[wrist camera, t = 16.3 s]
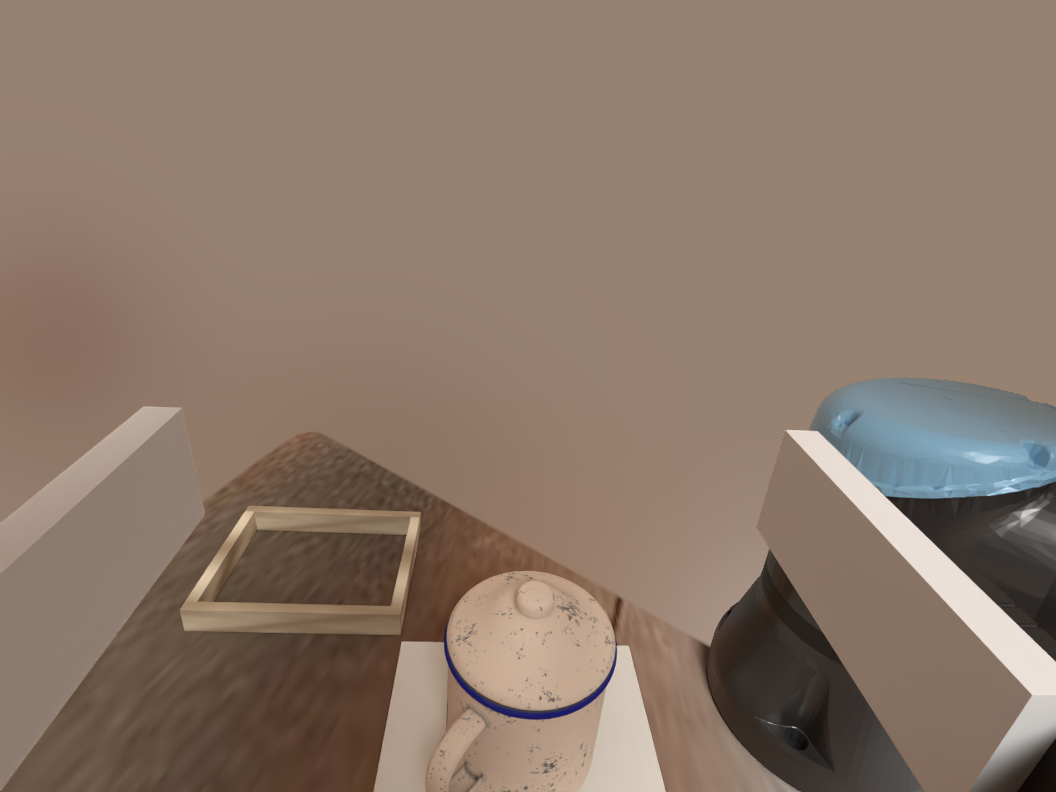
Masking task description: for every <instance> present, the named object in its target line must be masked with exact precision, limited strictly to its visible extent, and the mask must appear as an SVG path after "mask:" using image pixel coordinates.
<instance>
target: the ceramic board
mask: <svg viewBox="0 0 1056 792" xmlns="http://www.w3.org/2000/svg"><path fill="white" fill-rule="evenodd" d="M447 684H448V663H447V661H446V656H445V651H444V642H404V641H402V643H401V649H400V654H399V659H398V665H397V670H396V675H395V681H394V686H393V691H392V696H391V702H390V707H389V712H388V718H387V723H386V728H385V734H384V739H383V744H382V750H381V755H380V760H379V766H378V771H377V776H376V782H375V787H374V792H426V788H425V776H426V771H427V767H428V764H429V761H430V759H431V757H432V755H433V753H434V751H435V749H436V747H437V745H438V744H439V742H440V740H441V739H442V737H443V736H444V735H445V733H446V722H447ZM453 775H454V774H453ZM577 792H666V791H665V787H664V783H663V779H662V775H661V772H660V768H659V764H658V760H657V756H656V752H655V748H654V744H653V740H652V736H651V732H650V728H649V724H648V720H647V716H646V712H645V708H644V705H643V701H642V697H641V693H640V689H639V685H638V681H637V677H636V673H635V669H634V665H633V661H632V657H631V653H630V649H629V646H617V660H616V666H615V669H614V673H613V675H612V677H611V680H610V682H609V683H608V685H607V687H606V692H605V697H604V702H603V707H602V712H601V717H600V722H599V727H598V732H597V737H596V742H595V747H594V752H593V757H592V762H591V766H590V769H589V772H588V774H587V777H586V779H585V780H584V782H583V784H582V785H581V787H580V788H579V790H578V791H577Z"/></svg>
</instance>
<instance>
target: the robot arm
mask: <svg viewBox="0 0 1056 792" xmlns="http://www.w3.org/2000/svg"><path fill="white" fill-rule="evenodd" d="M204 515H205V511H204V506H203V502H202V497H201V492H200V488H199V483H198V479H197V474H196V469H195V465H194V460H193V455H192V451H191V446H190V442H189V437H188V433H187V428H186V423H185V419H184V414H183V409H182V408H174V407H147V406H144V407H143V408H141V409H140V410H139V411H138V412H136V413H135V414H134V415H133V416H131V417H130V418H129V419H128V420H127V421H125V422H124V423H123V424H122V425H120V426H119V427H118V428H117V429H116V430H114V431H113V432H112V433H111V434H109V435H108V436H107V437H106V438H104V439H103V440H102V441H101V442H100V443H98V444H97V445H96V446H95V447H93V448H92V449H91V450H90V451H88V452H87V453H86V454H85V455H83V456H82V457H81V458H80V459H79V460H77V461H76V462H75V463H74V464H72V465H71V466H70V467H69V468H67V469H66V470H65V471H64V472H63V473H61V474H60V475H59V476H58V477H56V478H55V479H54V480H53V481H51V482H50V483H49V484H48V485H46V486H45V487H44V488H43V489H42V490H40V491H39V492H38V493H37V494H35V495H34V496H33V497H32V498H30V499H29V500H28V501H27V502H25V503H24V504H23V505H22V506H21V507H19V508H18V509H17V510H16V511H14V512H13V513H12V514H11V515H9V516H8V517H7V518H6V519H5V520H3V521H2V522H1V523H0V791H1V790H2V789H3V787H4V786H5V785H6V783H7V782H8V781H9V779H10V778H11V777H12V775H13V774H14V772H15V771H16V770H17V768H18V767H19V766H20V764H21V763H22V762H23V760H24V759H25V758H26V756H27V755H28V754H29V752H30V751H31V749H32V748H33V747H34V745H35V744H36V743H37V741H38V740H39V739H40V737H41V736H42V735H43V733H44V732H45V731H46V729H47V728H48V726H49V725H50V724H51V722H52V721H53V720H54V718H55V717H56V716H57V714H58V713H59V712H60V710H61V709H62V708H63V706H64V705H65V703H66V702H67V701H68V699H69V698H70V697H71V695H72V694H73V693H74V691H75V690H76V689H77V687H78V686H79V685H80V683H81V682H82V680H83V679H84V678H85V676H86V675H87V674H88V672H89V671H90V670H91V668H92V667H93V666H94V664H95V663H96V662H97V660H98V659H99V657H100V656H101V655H102V653H103V652H104V651H105V649H106V648H107V647H108V645H109V644H110V643H111V641H112V640H113V639H114V637H115V636H116V634H117V633H118V632H119V630H120V629H121V628H122V626H123V625H124V624H125V622H126V621H127V620H128V618H129V617H130V616H131V614H132V613H133V611H134V610H135V609H136V607H137V606H138V605H139V603H140V602H141V601H142V599H143V598H144V597H145V595H146V594H147V593H148V591H149V590H150V588H151V587H152V586H153V584H154V583H155V582H156V580H157V579H158V578H159V576H160V575H161V574H162V572H163V571H164V570H165V568H166V567H167V565H168V564H169V563H170V561H171V560H172V559H173V557H174V556H175V555H176V553H177V552H178V551H179V549H180V548H181V547H182V545H183V544H184V542H185V541H186V540H187V538H188V537H189V536H190V534H191V533H192V532H193V530H194V529H195V528H196V526H197V525H198V524H199V522H200V521H201V519H202V518H203V517H204ZM756 528H757V530H758V531H759V533H760V534H761V536H762V538H763V539H764V541H765V542H766V544H767V545H768V547H769V552H768V555H767V558H766V561H765V565H764V568H763V571H762V573H761V575H760V577H759V578H758V579H757V580H756V581H755V582H754V584H753V585H752V586H751V588H750V589H749V590H748V591H747V592H746V594H745V595H744V596H743V597H742V599H741V600H740V601H739V602H738V603H736V604H735V605H734V606H732V607H731V608H730V609H729V610H728V611H727V612H726V613H725V615H724V616H723V617H722V619H721V620H720V622H719V624H718V626H717V628H716V630H715V633H714V637H713V640H712V643H711V646H710V650H709V654H708V659H707V675H708V681H709V685H710V689H711V692H712V695H713V698H714V700H715V703H716V705H717V707H718V709H719V711H720V713H721V715H722V716H723V718H724V720H725V721H726V723H727V724H728V726H729V727H730V729H731V730H732V731H733V733H734V734H735V735H736V737H737V738H738V739H739V740H740V742H741V743H742V744H743V745H744V746H745V747H746V748H747V749H748V750H749V752H751V753H752V754H753V755H754V756H755V757H756V758H757V759H758V760H759V761H760V762H761V763H762V764H763V765H764V766H766V767H767V768H768V769H769V770H771V771H772V772H773V773H774V774H776V775H777V776H778V777H780V778H781V779H782V780H784V781H785V782H787V783H788V784H790V785H791V786H793V787H795V788H796V789H798V790H800V791H801V792H1056V407H1054V406H1052V405H1049V404H1046V403H1039V402H1033V401H1029V400H1028V398H1027V397H1025V396H1022V395H1019V394H1015V393H1012V392H1008V391H1004V390H1000V389H995V388H990V387H985V386H981V385H975V384H969V383H962V382H955V381H946V380H937V379H925V378H885V379H882V378H881V379H872V380H865V381H860V382H856V383H852V384H849V385H846V386H844V387H841V388H840V389H838V390H836V391H834V392H833V393H831V394H830V395H829V396H827V397H826V398H825V399H824V401H823V402H822V403H821V404H820V406H819V408H818V409H817V411H816V414H815V416H814V419H813V421H812V424H811V426H810V429H809V431H800V430H799V431H798V430H785V432H784V436H783V439H782V442H781V446H780V449H779V452H778V456H777V459H776V462H775V466H774V469H773V472H772V476H771V479H770V482H769V486H768V489H767V492H766V496H765V499H764V502H763V506H762V509H761V512H760V516H759V519H758V522H757V526H756Z"/></svg>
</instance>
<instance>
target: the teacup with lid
mask: <svg viewBox="0 0 1056 792" xmlns="http://www.w3.org/2000/svg"><path fill="white" fill-rule="evenodd" d="M444 651H445V656H446V661H447V663H448V684H447V722H446V733H445V735H444V736H443V737H442V739H441V740H440V742H439V744H438V745H437V747H436V749H435V751H434V753H433V755H432V757H431V759H430V761H429V764H428V767H427V771H426V776H425V788H426V792H577V791H578V790H579V788H580V787H581V785H582V784H583V782H584V780H585V779H586V777H587V774H588V772H589V769H590V766H591V762H592V757H593V752H594V747H595V742H596V737H597V732H598V727H599V722H600V717H601V712H602V707H603V702H604V697H605V692H606V687H607V685H608V683H609V682H610V680H611V677H612V675H613V673H614V669H615V666H616V660H617V644H616V638H615V635H614V631H613V628H612V625H611V622H610V620H609V618H608V616H607V615H606V613H605V611H604V610H603V608H602V607H601V605H600V604H599V603H598V602H597V601H596V600H595V599H594V598H593V597H592V596H591V595H590V594H589V593H588V592H587V591H585V590H584V589H582V588H581V587H580V586H578V585H576V584H575V583H573V582H571V581H569V580H567V579H564V578H562V577H559V576H556V575H553V574H549V573H544V572H537V571H513V572H507V573H503V574H499V575H496V576H493V577H490V578H488V579H486V580H484V581H482V582H480V583H479V584H477V585H475V586H474V587H473V588H471V589H470V590H469V591H468V592H467V593H466V594H465V595H464V596H463V597H462V598H461V599H460V600H459V602H458V603H457V605H456V606H455V608H454V609H453V611H452V613H451V615H450V617H449V620H448V622H447V625H446V629H445V634H444ZM453 774H454V775H453Z"/></svg>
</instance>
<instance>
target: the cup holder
mask: <svg viewBox="0 0 1056 792" xmlns="http://www.w3.org/2000/svg"><path fill="white" fill-rule="evenodd" d="M257 530H276V531H306V532H336V533H366V534H396V535H407V536H406V541H405V545H404V550H403V554H402V558H401V563H400V567H399V572H398V576H397V581H396V585H395V590H394V594H393V598H392V603H391V606H362V605H320V604H278V603H236V602H214V601H215V599H216V597H217V596H218V594H219V592H220V591H221V589H222V588H223V586H224V584H225V583H226V581H227V579H228V578H229V576H230V574H231V573H232V571H233V569H234V568H235V566H236V564H237V563H238V561H239V559H240V558H241V556H242V554H243V553H244V551H245V549H246V548H247V546H248V544H249V543H250V541H251V539H252V538H253V536H254V534H255V533H256V531H257ZM420 532H421V512H405V511H378V510H351V509H323V508H296V507H269V506H248V508H247V509H246V511H245V512H244V514H243V515H242V517H241V518H240V520H239V521H238V523H237V524H236V526H235V527H234V529H233V530H232V532H231V533H230V535H229V536H228V538H227V539H226V541H225V542H224V544H223V545H222V547H221V548H220V550H219V551H218V553H217V554H216V556H215V557H214V559H213V560H212V562H211V563H210V565H209V566H208V568H207V569H206V571H205V572H204V574H203V575H202V577H201V578H200V580H199V581H198V583H197V585H196V586H195V588H194V589H193V591H192V592H191V594H190V595H189V597H188V598H187V600H186V601H185V603H184V604H183V606H182V607H181V609H180V613H181V618H182V622H183V626H184V631H217V632H266V633H316V634H366V635H401V630H402V625H403V620H404V615H405V609H406V604H407V599H408V594H409V589H410V583H411V578H412V573H413V568H414V563H415V557H416V552H417V547H418V542H419V537H420Z"/></svg>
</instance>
